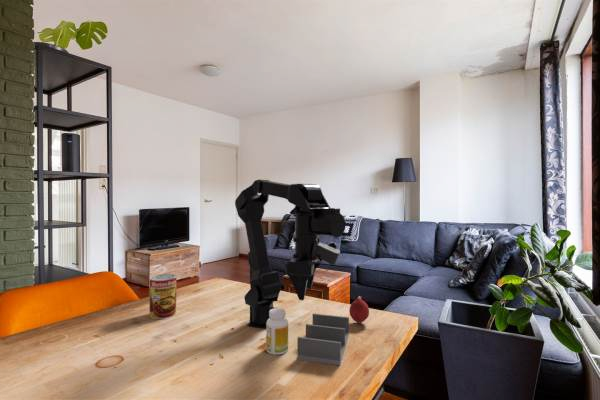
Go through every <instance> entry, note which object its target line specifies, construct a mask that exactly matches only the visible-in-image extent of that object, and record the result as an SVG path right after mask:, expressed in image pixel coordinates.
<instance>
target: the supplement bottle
mask: <svg viewBox="0 0 600 400" xmlns="http://www.w3.org/2000/svg"><path fill="white" fill-rule="evenodd" d="M286 313H287V312H286V309H284V308H282V307H276V308H275V307H274V309H271V310H270V311H269V317H270V318H269V319H268V320H267V323H266V328H265V329H266V330H265V331H266V335H265V336H266V338H265V339H266V343H265V344H266V346H265V347H266V352H267V353H269V354H270V355H275V356H277V355H283V354H286V353H288V349H289V320H288V318H286Z"/></svg>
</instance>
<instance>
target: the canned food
mask: <svg viewBox="0 0 600 400" xmlns="http://www.w3.org/2000/svg"><path fill="white" fill-rule="evenodd" d="M148 282H149V318H150V319H153V320H162V319H167V318H168V319H169V318H171V317H173V316H175V315H176V314H177V275H176V274H174V273H164V274H163V273H162V274H155V275H152V276H150V277H149V281H148Z"/></svg>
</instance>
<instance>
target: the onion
mask: <svg viewBox="0 0 600 400" xmlns="http://www.w3.org/2000/svg"><path fill="white" fill-rule="evenodd" d="M362 299H363V298H362V296H357V298H356V299H355V300H353V302H351V303H350V306H349V312H348V313H349V316H350V318H351V319H352V320H353V321H354V322H355V323H356V324H359V325H360V324H362V323H364V322H365V321H366V320H367V319H368V318H369V316H370V308H369V306H368V304H367V303H366V301H364V300H362Z"/></svg>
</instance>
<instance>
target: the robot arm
mask: <svg viewBox="0 0 600 400" xmlns="http://www.w3.org/2000/svg"><path fill="white" fill-rule="evenodd" d="M270 196H273V197H277V198H282V199H285V200H286V201H288V203H290V204H292V205H293V206H294V208H292V209H291V210H290V211H289V215H295V226H294V227H295V230H294V232H295V234H294V235H295V236H294V237H293V238H292V240H293V241H292V242H293V243H294V253H293V254H292V258H291V259H290V260H289V261H287V263H286V264H285V266H284V274H286V276H287V277H288V279H289V280H290V282H291V285H292V286H293V288H294V291H295V294H296V295H297V298H298V300H299V301H304V300H305V296H306V292H307V291H306V290H311V289H312V287H313V284H314V280H315V279H314V278H315V275H316V271H317V268H318V267H319V266H321V264H323V261H324V262H326V263H328V264H329V265H332V266H335V265H336V264H337V262H338V259H339V256H340V254H341V249H338V244H337V243H336V242H333V241H331V242H330V243H328V244H326V243H323V242H321V237H320V236H322V237H323V236H325V237H331V238H338V239H339V238H340V237H342V236H343V235H344V233H345V231H346V225H347V224H346V220H345V217H344V215H343V214H341V208H339V207H332V208H331V206H330V205H329V203H328V201H327V200H326V198H325V197H326V196H325V195H324V193H323V190H322V188H321V186H320V185H319V184H317V183H315V184H314V183H291V184H288V183H282V182H277V181H271V180H269V179H256V180H254V181H253V182H252V183H251V185H249V186H248V187H246V188H244V189H243V190H241V192H240V193H239V195H238V196H237V198H236V199H235V201H234V206H235V210H236V212H237V216H238V217H239V219H240V220H241V221H242V222H243V223H244V225H245V231H246V235H247V241H248V248H249V253H250V259H251V264H252V268H253V269H252V274H251V277H250V280H249V286H250V289H249V290H248V291H247V293H246V294H245V295H244V297H243V298H244V304H245V305H247V306H249V322H247V323H246V324H247V325H246V326H247V327H255V328H262V329H263V328H264V329H266V323H267V320H268V319H269V318H270V317H269V311H270V310H271V309H274V308H275V306H274V302H278V299H279V297H280V293H281V286H282V283H281V281H280V273H279V272H278V271H274V270H273V268H271V265H270V261H269V255H268V250H267V244H266V238H265V233H264V229H263V224H262V219H263V217H264V214H265V205H266V204H267V203H268V201H269V199H270V198H269V197H270Z"/></svg>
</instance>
